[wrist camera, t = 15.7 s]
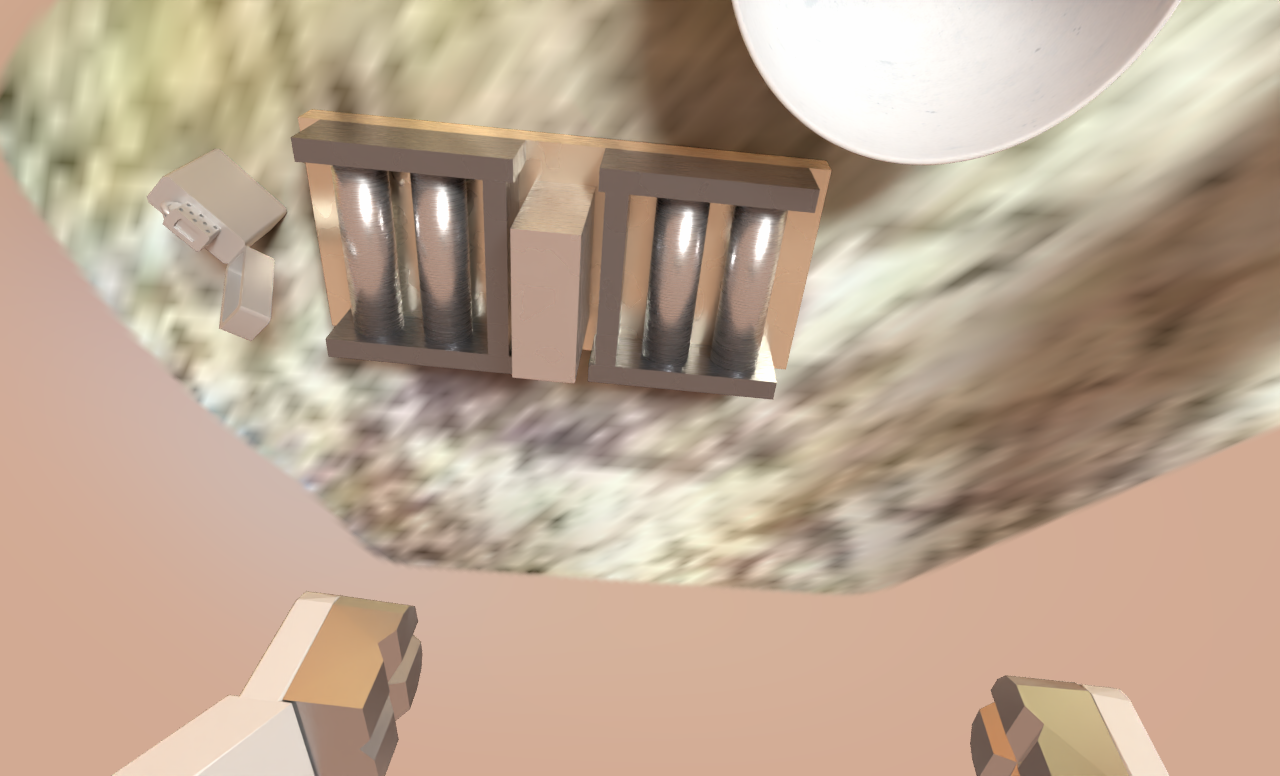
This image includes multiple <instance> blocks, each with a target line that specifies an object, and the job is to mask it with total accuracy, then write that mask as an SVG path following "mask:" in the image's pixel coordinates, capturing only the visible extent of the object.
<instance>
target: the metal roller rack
mask: <svg viewBox="0 0 1280 776" xmlns="http://www.w3.org/2000/svg"><path fill="white" fill-rule="evenodd" d="M298 120H299V126H300V132H299V133H297V134H295V135H294V136H292V137H291V141H292V147H293V153H294V159H295V162H305V163H306V169H307V175H308V181H309V187H310V193H311V199H312V205H313V211H314V217H315V223H316V229H317V235H318V242H319V248H320V254H321V260H322V266H323V272H324V278H325V284H326V290H327V296H328V302H329V308H330V314H331V320H332V325H335V326H336V327H335V328H334V329H333V330H332V332H331V333H330V334H329V335H328V336H327V338H326V344H327V350H328V355H329V356H330V357H340V358H350V359H361V360H371V361H381V362H392V363H402V364H412V365H423V366H433V367H443V368H454V369H464V370H474V371H485V372H495V373H505V374H512V320H511V242H510V228H511V226H512V224H513V222H514V220H515V218H516V217H517V215H518V213H519V211H520V209H521V207H522V205H523V203H524V201H525V199H526V197H527V195H528V193H529V191H530V190H531V188H532V186H533V184H534V182H535V180H537V181H547V182H557V183H567V184H577V185H588V186H596V191H595V210H594V229H593V248H592V266H591V285H590V304H589V321H588V325H587V330H586V334H585V339H584V344H583V348H582V350H591V355H590V360H589V368H588V382H598V383H609V384H619V385H629V386H640V387H650V388H660V389H671V390H681V391H691V392H702V393H712V394H722V395H733V396H743V397H753V398H764V399H773V397H774V392H775V388H776V384H777V381H776V376H775V371H774V368H778V369H786V366H787V362H788V357H789V353H790V349H791V344H792V340H793V336H794V331H795V327H796V323H797V318H798V314H799V310H800V305H801V301H802V297H803V292H804V288H805V284H806V279H807V275H808V271H809V266H810V262H811V258H812V253H813V249H814V245H815V240H816V236H817V232H818V227H819V223H820V219H821V214H822V210H823V206H824V201H825V197H826V193H827V188H828V184H829V180H830V175H831V171H832V170H831V168H830V167H829V165H828V163H827V161H825V160H815V159H805V158H795V157H785V156H775V155H765V154H755V153H745V152H735V151H725V150H715V149H705V148H695V147H685V146H675V145H665V144H655V143H645V142H635V141H625V140H615V139H605V138H595V137H585V136H575V135H565V134H555V133H545V132H535V131H525V130H515V129H505V128H495V127H485V126H475V125H465V124H455V123H445V122H435V121H425V120H415V119H405V118H395V117H385V116H374V115H364V114H354V113H344V112H334V111H324V110H314V109H312V110H310V111H308V112H306V113H304V114H303V115H301V116H299V117H298Z"/></svg>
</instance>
